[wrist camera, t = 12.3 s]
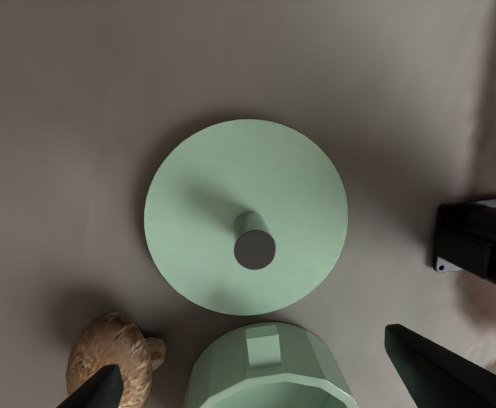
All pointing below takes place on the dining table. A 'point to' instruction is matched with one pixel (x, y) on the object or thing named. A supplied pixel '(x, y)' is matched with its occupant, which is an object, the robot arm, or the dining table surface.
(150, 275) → the dining table surface
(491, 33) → the dining table surface
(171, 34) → the dining table surface
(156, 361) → the mushroom
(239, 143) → the lid
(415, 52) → the dining table surface
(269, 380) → the pot
